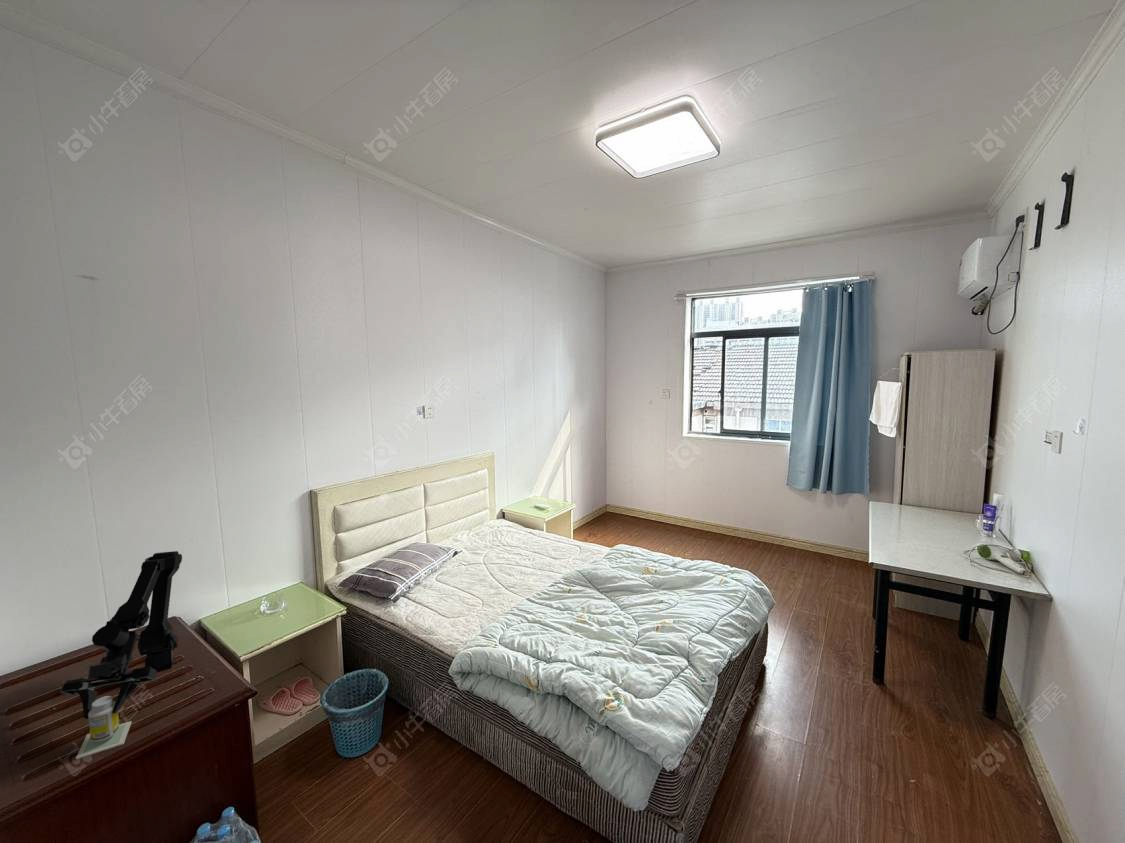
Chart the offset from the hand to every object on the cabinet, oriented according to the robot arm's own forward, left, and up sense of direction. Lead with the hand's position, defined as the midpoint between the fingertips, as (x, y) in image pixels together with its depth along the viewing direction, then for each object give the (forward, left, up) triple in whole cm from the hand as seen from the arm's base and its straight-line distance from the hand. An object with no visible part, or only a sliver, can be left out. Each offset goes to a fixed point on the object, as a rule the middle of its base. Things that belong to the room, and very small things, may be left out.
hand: (100, 716), depth 119 cm
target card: (0, -1, -8) cm, 8 cm away
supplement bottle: (0, -1, -7) cm, 7 cm away
